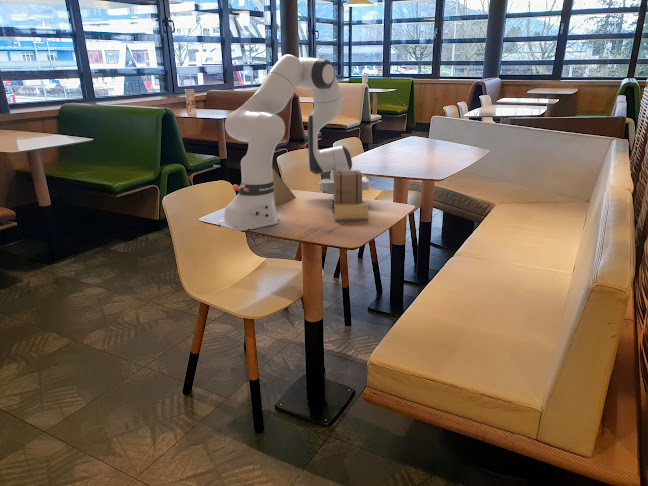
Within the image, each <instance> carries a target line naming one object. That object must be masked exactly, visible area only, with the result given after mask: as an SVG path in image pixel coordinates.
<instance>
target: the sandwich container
mask: <svg viewBox="0 0 648 486" xmlns="http://www.w3.org/2000/svg"><path fill="white" fill-rule="evenodd" d="M272 178H273V181H274V201H275V206H277V205H280V204H283V203H285V202H289V201H291V200H294V199H296V198H297V196H295V194H294V192H292V191H291V189H290V188H289V187H288V185H287V184H286V183H285V181H284V180H283V179H282V178H281V177H280V176H279V174H278V173H277V171H276V170H275V169H274V168H272Z"/></svg>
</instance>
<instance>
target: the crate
mask: <svg viewBox="0 0 648 486" xmlns="http://www.w3.org/2000/svg"><path fill="white" fill-rule="evenodd" d="M362 174H363V173H362V171H361V170H350V171H334V191H333V200H334V203H335V204H341V203H363V190H362Z"/></svg>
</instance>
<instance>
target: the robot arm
mask: <svg viewBox="0 0 648 486" xmlns="http://www.w3.org/2000/svg"><path fill="white" fill-rule="evenodd" d="M297 87H299V88H304V89H310V90H311V89H312V90H311V91H312V98H313V99H312V100H313V110H312V112H311V113H309V114H308V120H307V151H308V153H307V159H306V160H307V162H306V165H307V168H308V169H309V172H311V173H313V174H314V175H320V174H323V173H327V172H330V178H322V179H320V180H319V181H317V182H318V183H317V184H318V186H319V191H321V192H334V171H352V169H353V168H352V167H353V160H352V155H351V153H350V151H349V149H348V148H347V147H346V146H344V145H337V146H332V147H329V148H322V149H319V145H318V144H319V143H318V141H319V140H318V139H319V136H318V134H319V132H320V130H321V129H322V128H324V127H325V125H328V124H329V123H331V122H333V121H334V120H335V119H337V117H338V116H339V115H340V113H341V112H342V107H343V106H342V105H343V104H342V103H343V102H342V96H341V90H340V86H339V82H338V77H336V70H335V67H334V64H333V63H332V62H331V60H328V59H326V58H323V57H322V58H321V57H319V58H317V57H310V56H303V57H297V56H295V55H293V54H287V53H286V54H284V55H282V56H281V57H279V59H278V60H277V61H276V62H275V63H274V65H273V66H272V67H271V69H270V70H269V71H268V72H267V74H266V76H265V78H264V79H263V81H262V82H261V84H260V86H259V87H258V89H257V90H256V91H255V92H254V94H253V95H251V97H249V98H248V100H246V101H245V102H244V104H242V105H241V106H240V107H239V108H237V109H235V110H233V111H232V112H230V113H228V114H227V116H226V118H225V122H224V128H225V132H226V133H227V135H228V136H229V137H231V138H232V139H234V140H237V141H238V142H242V143H248V147H247V152H246V154H245V155H244V156H243V157H242V158H241V160H240V172H241V182H240V185H239V184H233V185H232V190H233V191H237V193H238V194H236V196H235V197H234V198H233V199H232V200H231V201H230V202H229V203H228V205H226V207H225V209H224V213H223V214H224V216H223V217H224V218H223V219H221V220H218V223H217V225H218V224H220V226H219V227H221V228H223V229H225V230H230V231H235V232H243V231H249V230H248V229H250V230H254V229H258V228H259V229H260V228H263V227H268V226H273V225H277V224H278V223H279V222H278V221H279V219H280V217H279V215H278V211H277V207H276V206H277V205H275V201H274V181H273V178H272V169H273V157H274V153H275V149H276V147H277V146H278V144H279V143H280V142H281V141H282V140H283V138H284V136H285V132H286V125H285V122H284V120H283V118H282V117H281V116H280V115H278V114H279V113H280V112H282V111H283V110H284V109H285V108H286V106H287V104H288V103H289V102H290V99H291V98H292V96H293V95H294V93H295V92H296V90H297ZM370 183H371V182H370V179H368V178H367V177H366V176H365V175H364V173H362V191H368V190H370V187H371V186H370V185H371V184H370Z"/></svg>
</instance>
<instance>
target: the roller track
mask: <svg viewBox="0 0 648 486" xmlns="http://www.w3.org/2000/svg"><path fill="white" fill-rule="evenodd" d="M330 208H331V212H332V215H333V220H334V222H335V223H339V222H342V223H343V222H368V221H369V203H368V202H362V203H341V204H335V203H334V199H333V200H331V203H330Z"/></svg>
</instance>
